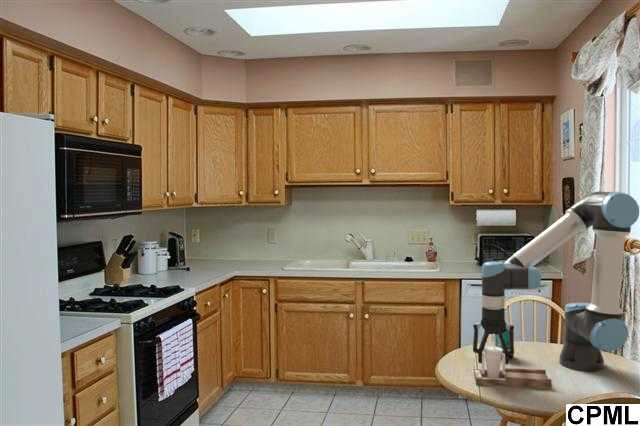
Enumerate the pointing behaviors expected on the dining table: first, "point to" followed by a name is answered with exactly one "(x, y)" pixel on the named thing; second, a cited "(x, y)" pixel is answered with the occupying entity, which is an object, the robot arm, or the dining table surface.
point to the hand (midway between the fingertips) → (493, 372)
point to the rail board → (515, 378)
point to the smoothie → (493, 360)
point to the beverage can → (506, 339)
